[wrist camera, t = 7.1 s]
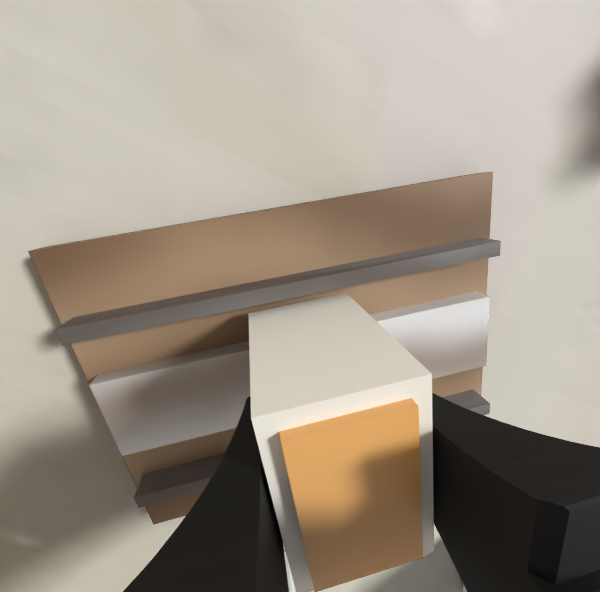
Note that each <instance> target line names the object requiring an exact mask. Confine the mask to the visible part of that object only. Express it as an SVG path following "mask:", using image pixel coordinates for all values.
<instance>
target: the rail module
mask: <svg viewBox="0 0 600 592" xmlns="http://www.w3.org/2000/svg"><path fill="white" fill-rule="evenodd" d="M248 316H249V357H250V397H251V420H252V424H253V428H254V432H255V436H256V439H257V443H258V447H259V451H260V455H261V459H262V463H263V466H264V470H265V474H266V478H267V482H268V486H269V490H270V493H271V497H272V501H273V505H274V509H275V513H276V517H277V520H278V524H279V528H280V532H281V536H282V540H283V544H284V547H285V551H286V555H287V559H288V563H289V567H290V571H291V574H292V578H293V582H294V586H295V590H296V592H310V591H313V590H314V591H315V592H317V591H320V590H324V589H327V588H330V587H333V586H336V585H339V584H342V583H346V582H349V581H352V580H355V579H358V578H361V577H365V576H368V575H371V574H374V573H377V572H380V571H383V570H387V569H390V568H393V567H396V566H399V565H402V564H405V563H409V562H412V561H415V560H418V559H421V558H423V556H424V555H427V554H430V553H433V552H434V507H433V423H432V373H431V372H429V371H428V370H427V369H426V368H425V367H424V366H423V365H422V364H421V363H420V362H419V361H418V360H417V359H416V358H415V357H414V356H413V355H412V354H410V353H409V352H408V351H407V350H406V349H405V348H404V347H403V346H402V345H401V344H400V343H399V342H398V341H397V340H396V339H395V338H394V337H392V336H391V335H390V334H389V333H388V332H387V331H386V330H385V329H384V328H383V327H382V326H381V325H380V324H379V323H378V322H377V321H376V320H374V319H373V318H372V317H371V316H370V315H369V314H368V313H367V312H366V311H365V310H364V309H363V308H362V307H361V306H360V305H359V304H358V303H356V302H355V301H354V300H353V299H352V298H351V297H350V296H349V295H348V294H347V293H344V294H339V295H335V296H330V297H325V298H320V299H315V300H310V301H306V302H301V303H296V304H291V305H286V306H282V307H277V308H272V309H267V310H262V311H257V312H253V313H248Z"/></svg>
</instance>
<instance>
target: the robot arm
mask: <svg viewBox="0 0 600 592" xmlns="http://www.w3.org/2000/svg"><path fill="white" fill-rule="evenodd" d="M432 423H433V507H434V524H435V526H436V528H437V530H438V532H439V534H440V536H441V538H442V540H443V542H444V544H445V547H446V549H447V551H448V553H449V555H450V557H451V559H452V561H453V563H454V565H455V567H456V569H457V571H458V573H459V575H460V578H461V580H462V582H463V584H464V585H463V591H464V592H600V448H599V447H594V446H589V445H584V444H579V443H574V442H570V441H566V440H562V439H558V438H554V437H550V436H546V435H542V434H539V433H535V432H532V431H528V430H525V429H522V428H519V427H515V426H512V425H509V424H506V423H503V422H500V421H497V420H494V419H492V418H489V417H486V416H484V415H481V414H479V413H476V412H474V411H471V410H468V409H466V408H464V407H461V406H459V405H457V404H455V403H453V402H450V401H448V400H446V399H444V398H442V397H440V396H438V395H436V394H434V393H432ZM123 592H289V587H288V579H287V571H286V564H285V556H284V548H283V540H282V536H281V532H280V528H279V524H278V520H277V517H276V513H275V509H274V505H273V501H272V497H271V493H270V490H269V486H268V482H267V478H266V474H265V470H264V466H263V463H262V459H261V455H260V451H259V447H258V443H257V439H256V436H255V432H254V428H253V424H252V420H251V397H250V396H249V397H248V398H247V399H246V402H245V405H244V408H243V411H242V414H241V417H240V419H239V422H238V425H237V427H236V429H235V432H234V434H233V436H232V438H231V441H230V443H229V445H228V447H227V449H226V451H225V453H224V455H223V457H222V459H221V461H220V463H219V465H218V466H217V468H216V470H215V472H214V474H213V475H212V477H211V479H210V480H209V482H208V484H207V485H206V487H205V489H204V490H203V492H202V493H201V495H200V496H199V498H198V499H197V501H196V502H195V504H194V505H193V507H192V508H191V510H190V511H189V513H188V514H187V515H186V517H185V518H184V519H183V521H182V522H181V524H180V525H179V526H178V528H177V529H176V530H175V531H174V533H173V534H172V535H171V536H170V538H169V539H168V540H167V541H166V543H165V544H164V545H163V547H162V548H161V549H160V550H159V552H158V553H157V554H156V555H155V556H154V558H153V559H152V560H151V561H150V562H149V564H148V565H147V566H146V567H145V568H144V569H143V570H142V571H141V573H140V574H139V575H138V576H137V577H136V578H135V579H134V580H133V581H132V582H131V583H130V585H129V586H128V587H127V588H126V589H125V590H124V591H123Z"/></svg>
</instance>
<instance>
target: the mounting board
mask: <svg viewBox="0 0 600 592" xmlns="http://www.w3.org/2000/svg"><path fill="white" fill-rule="evenodd" d="M492 179H493V172H486V173H476V174H470V175H464V176H458V177H453V178H447V179H441V180H435V181H429V182H423V183H417V184H412V185H406V186H400V187H394V188H388V189H382V190H376V191H371V192H365V193H359V194H353V195H347V196H341V197H335V198H330V199H324V200H318V201H312V202H306V203H300V204H294V205H288V206H283V207H277V208H271V209H265V210H259V211H253V212H247V213H242V214H236V215H230V216H224V217H218V218H212V219H206V220H201V221H195V222H189V223H183V224H177V225H171V226H165V227H160V228H154V229H148V230H142V231H136V232H130V233H124V234H119V235H113V236H107V237H101V238H95V239H89V240H83V241H77V242H72V243H66V244H60V245H54V246H48V247H43V248H39V249H35V250H31V251H28V252H29V254H30V256H31V258H32V261H33V263H34V265H35V267H36V269H37V271H38V274H39V276H40V278H41V280H42V282H43V285H44V287H45V289H46V291H47V293H48V295H49V298H50V300H51V302H52V304H53V306H54V308H55V311H56V313H57V315H58V317H59V319H60V322H61V324H62V325H61V326H60V327H59V328H57V329H56V330H55V331H56V333H57V335H58V337H59V339H60V342H61V344H62V345H66V344H71V346H72V348H73V350H74V352H75V354H76V356H77V359H78V361H79V363H80V365H81V367H82V370H83V372H84V374H85V376H86V378H87V380H88V383H89V386H90V388H91V390H92V392H93V395H94V397H95V399H96V401H97V403H98V405H99V408H100V410H101V412H102V414H103V416H104V419H105V421H106V423H107V425H108V427H109V429H110V432H111V434H112V436H113V438H114V440H115V442H116V445H117V447H118V449H119V451H120V453H121V456H122V457H123V459H124V461H125V463H126V465H127V468H128V470H129V472H130V474H131V476H132V478H133V481H134V483H135V485H136V487H137V491H136V494H135V496H134V499H135V501H136V503H137V505H138V507H142V506H145V507H146V509H147V511H148V513H149V515H150V518H151V520H152V522H153V524H157V523H160V522H164V521H167V520H171V519H175V518H178V517H182V516H186V515H187V514H188V513H189V511H190V510H191V508H192V507H193V505H194V504H195V502H196V501H197V499H198V498H199V496H200V495H201V493H202V492H203V490H204V489H205V487H206V485H207V484H208V482H209V480H210V479H211V477H212V475H213V474H214V472H215V470H216V468H217V466H218V465H219V463H220V461H221V459H222V457H223V455H224V453H225V451H226V449H227V447H228V445H229V443H230V441H231V438H232V436H233V434H234V432H235V429H236V427H237V425H238V422H239V419H240V417H241V414H242V411H243V408H244V405H245V402H246V399H247V398H248V397H249V396H250V357H249V316H248V313H253V312H257V311H262V310H267V309H272V308H277V307H282V306H286V305H291V304H296V303H301V302H306V301H310V300H315V299H320V298H325V297H330V296H335V295H339V294H344V293H347V294H348V295H349V296H350V297H351V298H352V299H353V300H354V301H355V302H356V303H358V304H359V305H360V306H361V307H362V308H363V309H364V310H365V311H366V312H367V313H368V314H369V315H370V316H371V317H372V318H373V319H374V320H376V321H377V322H378V323H379V324H380V325H381V326H382V327H383V328H384V329H385V330H386V331H387V332H388V333H389V334H390V335H391V336H392V337H394V338H395V339H396V340H397V341H398V342H399V343H400V344H401V345H402V346H403V347H404V348H405V349H406V350H407V351H408V352H409V353H410V354H412V355H413V356H414V357H415V358H416V359H417V360H418V361H419V362H420V363H421V364H422V365H423V366H424V367H425V368H426V369H427V370H428V371H429V372H431V373H432V393H434V394H436V395H438V396H440V397H442V398H444V399H446V400H448V401H450V402H453V403H455V404H457V405H459V406H461V407H464V408H466V409H468V410H471V411H474V412H476V413H479V414H481V415H485V414H489V412H490V403H489V402H487V401H486V400H485V399H484V398H483V397H482V396H481V387H482V368H483V366H486V356H487V339H488V321H489V304H490V296H487V295H486V292H487V274H488V258H490V257H495V256H500V244H501V241H498V240H492V239H489V236H490V217H491V198H492Z"/></svg>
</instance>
